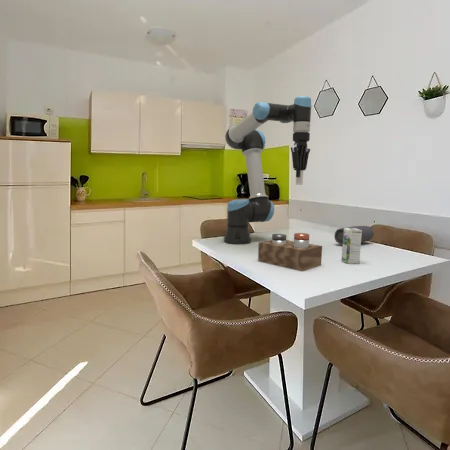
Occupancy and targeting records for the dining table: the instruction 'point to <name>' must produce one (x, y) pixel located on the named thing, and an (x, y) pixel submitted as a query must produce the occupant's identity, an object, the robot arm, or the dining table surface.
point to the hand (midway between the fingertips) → (299, 184)
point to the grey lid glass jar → (279, 238)
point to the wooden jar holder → (290, 255)
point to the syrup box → (351, 245)
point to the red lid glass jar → (301, 240)
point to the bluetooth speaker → (366, 230)
